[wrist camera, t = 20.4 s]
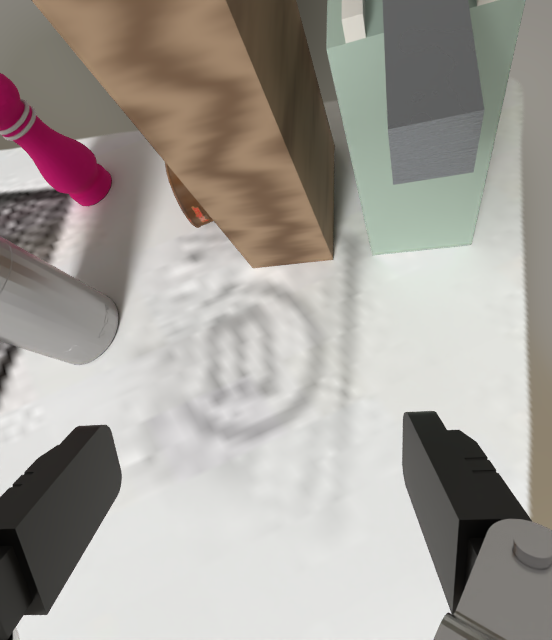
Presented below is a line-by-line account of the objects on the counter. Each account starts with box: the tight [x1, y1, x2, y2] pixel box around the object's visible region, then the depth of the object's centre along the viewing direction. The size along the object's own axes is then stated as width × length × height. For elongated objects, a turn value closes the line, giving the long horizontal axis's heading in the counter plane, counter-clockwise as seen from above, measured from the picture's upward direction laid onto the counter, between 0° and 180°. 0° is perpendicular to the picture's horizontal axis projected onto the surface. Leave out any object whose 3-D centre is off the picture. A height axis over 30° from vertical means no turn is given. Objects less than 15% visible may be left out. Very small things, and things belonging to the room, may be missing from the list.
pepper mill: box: [0, 73, 112, 206], centre depth 49 cm, size 7×7×20 cm
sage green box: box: [326, 0, 525, 255], centre depth 31 cm, size 9×15×23 cm, turn 177°
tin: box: [165, 162, 214, 228], centre depth 47 cm, size 15×3×8 cm, turn 14°
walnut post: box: [32, 0, 334, 268], centre depth 30 cm, size 9×15×33 cm, turn 177°
